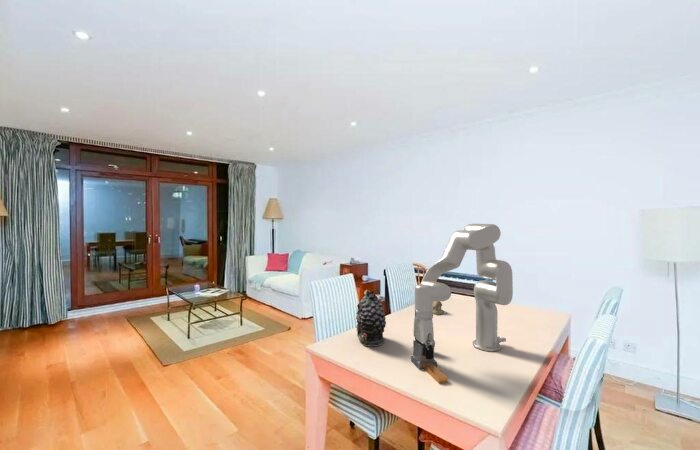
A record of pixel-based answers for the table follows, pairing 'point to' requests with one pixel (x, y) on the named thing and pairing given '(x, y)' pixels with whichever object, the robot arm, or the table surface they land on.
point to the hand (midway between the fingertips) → (424, 353)
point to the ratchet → (431, 369)
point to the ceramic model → (437, 308)
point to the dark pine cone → (370, 320)
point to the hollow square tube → (420, 351)
